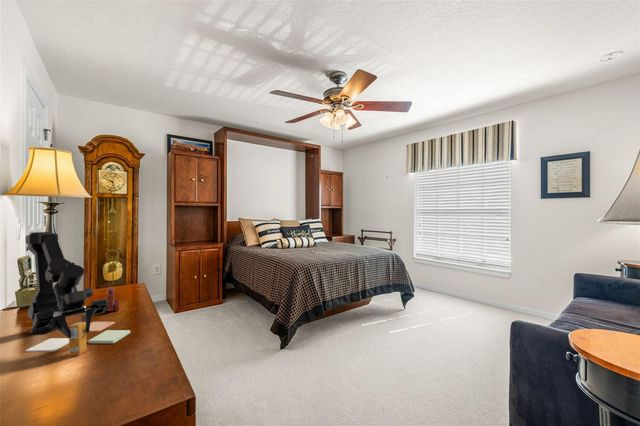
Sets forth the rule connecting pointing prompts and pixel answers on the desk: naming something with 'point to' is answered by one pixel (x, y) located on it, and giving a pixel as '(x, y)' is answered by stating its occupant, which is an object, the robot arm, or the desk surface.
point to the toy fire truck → (111, 301)
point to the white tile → (49, 345)
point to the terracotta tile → (99, 326)
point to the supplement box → (77, 338)
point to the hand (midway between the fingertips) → (79, 334)
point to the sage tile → (109, 336)
